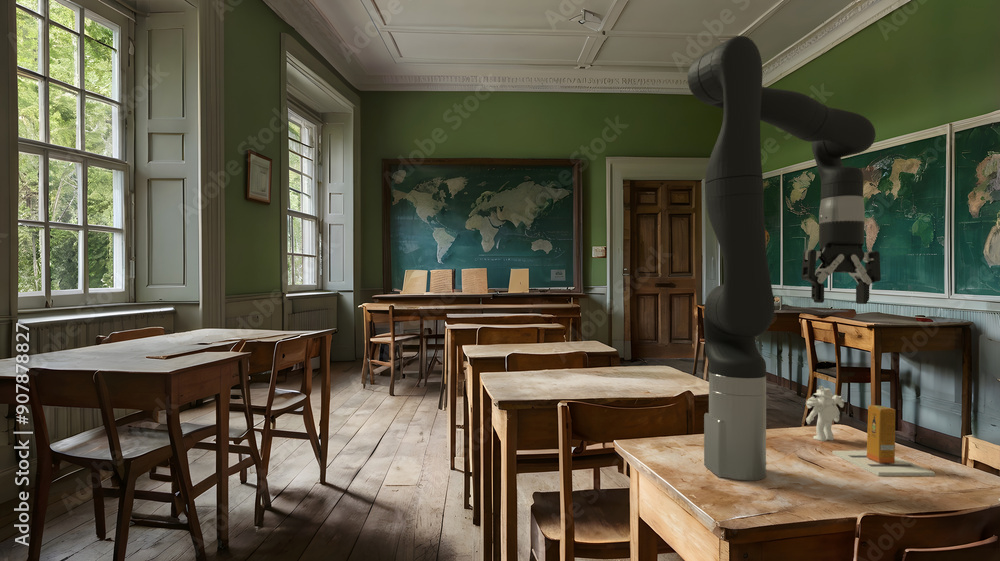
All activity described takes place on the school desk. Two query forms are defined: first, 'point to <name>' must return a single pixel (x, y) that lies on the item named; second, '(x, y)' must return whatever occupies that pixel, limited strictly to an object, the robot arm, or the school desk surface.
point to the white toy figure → (824, 412)
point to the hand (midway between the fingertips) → (840, 303)
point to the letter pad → (883, 465)
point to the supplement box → (881, 434)
